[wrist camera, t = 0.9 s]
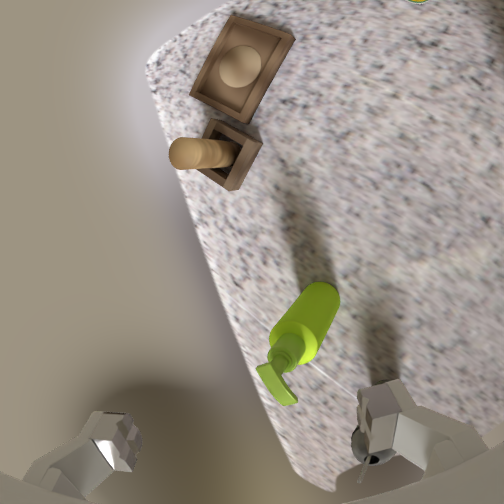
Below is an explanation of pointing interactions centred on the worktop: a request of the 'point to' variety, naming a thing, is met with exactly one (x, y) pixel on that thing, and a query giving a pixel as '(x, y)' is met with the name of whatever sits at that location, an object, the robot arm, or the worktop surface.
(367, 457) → the beverage cup
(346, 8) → the worktop surface
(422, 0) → the supplement bottle
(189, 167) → the dowel
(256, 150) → the socket
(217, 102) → the tray
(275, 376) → the soap dispenser
